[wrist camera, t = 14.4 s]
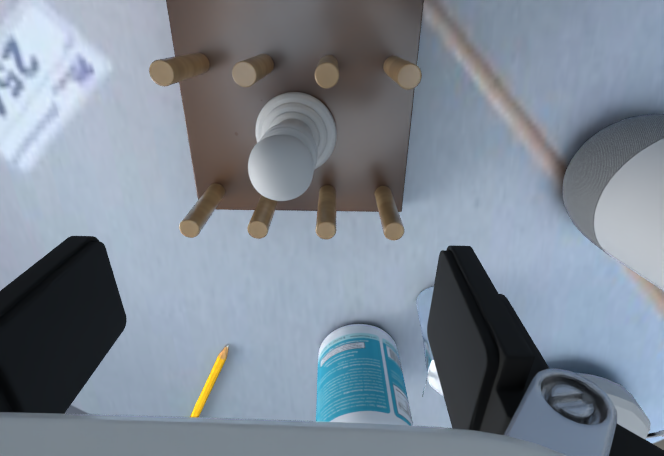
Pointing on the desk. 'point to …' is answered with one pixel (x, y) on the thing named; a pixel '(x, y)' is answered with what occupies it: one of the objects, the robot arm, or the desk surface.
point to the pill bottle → (361, 378)
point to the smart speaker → (622, 193)
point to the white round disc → (625, 407)
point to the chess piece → (290, 145)
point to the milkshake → (423, 313)
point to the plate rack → (305, 77)
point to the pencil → (210, 382)
